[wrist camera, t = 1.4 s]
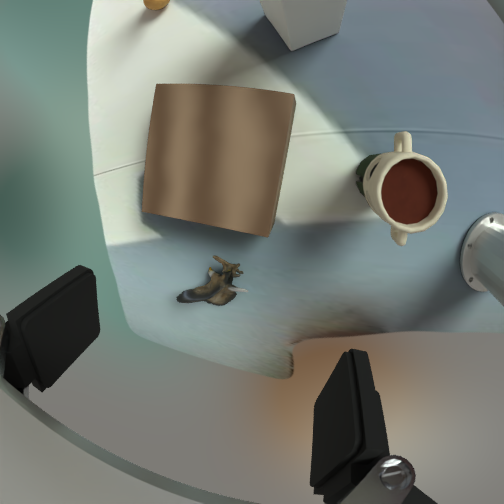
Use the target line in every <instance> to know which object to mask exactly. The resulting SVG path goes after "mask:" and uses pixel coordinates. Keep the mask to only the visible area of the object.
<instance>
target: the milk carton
mask: <svg viewBox="0 0 504 504" xmlns="http://www.w3.org/2000/svg"><path fill="white" fill-rule="evenodd" d="M346 2H347V0H260V3H261V6H262V8H263V11H264V13H265V15H266V17H267V18H268V20H269V21H270V22H271V24H272V25H273V26H274V28H275V29H276V31H277V32H278V33H279V35H280V36H281V38H282V39H283V40H284V42H285V43H286V45H287V46H288V48H289V49H290V50H291V51H294V50H296V49H298V48H301V47H303V46H305V45H308V44H310V43H313V42H315V41H318V40H321V39H323V38H326V37H329V36H331V35H334V34H337V33H339V30H340V26H341V22H342V18H343V14H344V10H345V6H346Z"/></svg>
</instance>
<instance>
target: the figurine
mask: <svg viewBox="0 0 504 504" xmlns="http://www.w3.org/2000/svg"><path fill="white" fill-rule="evenodd" d="M143 1H144V5H145V6H146V7H147V8H149V9H151V10H158V9H161V8H163V7H165V6H166V5H167V4H168V3H169V1H170V0H143Z"/></svg>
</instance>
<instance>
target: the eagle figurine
mask: <svg viewBox="0 0 504 504" xmlns="http://www.w3.org/2000/svg"><path fill="white" fill-rule="evenodd" d="M213 258H214V259H215V260H217V261H218V262H220V263H222V265H223V269H224V270H223V271H222V272H223V275H220V274H218V273H216V272H214V271H213V270H212V269H211V267H210V268H209V272H208V274H209V275H210V277H211V281H210V282H209V283H208V284H206V285H204V286H200V287H197V288H195V289H190V290H186V291H183V292H182V294H180V295H179V296H177V301H178V302H182V303H192V302H199V301H206V302H207V303H212V304H213V305H219V306H220V305H221V306H222V305H225V304H227V303H228V302H230V301H231V300H233V299H234V298H235V297H236V295H237V294H236V293H235V291H239V292H248V290H245V289H242V288H238V287H236V286H234V285H232V281H233V277H234V278H235V277H239V276H240V274H244V273H243V271H239V269H237V268H238V267H239V266H240V264H230V263H228V262H227V261H225V260H223V259H221V258H219V257H218V256H213ZM236 272H238V273H239V274H236Z"/></svg>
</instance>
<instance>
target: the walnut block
mask: <svg viewBox="0 0 504 504" xmlns="http://www.w3.org/2000/svg"><path fill="white" fill-rule="evenodd" d="M295 107H296V100H295V96H294V94H290V93H284V92H278V91H271V90H263V89H255V88H246V87H236V86H223V85H206V84H156V89H155V95H154V101H153V107H152V113H151V120H150V127H149V135H148V144H147V152H146V162H145V173H144V186H143V202H142V212H147V213H152V214H157V215H162V216H167V217H172V218H177V219H182V220H187V221H192V222H197V223H202V224H207V225H212V226H216V227H221V228H226V229H231V230H235V231H240V232H245V233H250V234H254V235H259V236H264V237H269V234H270V232H271V230H272V227H273V225H274V222H275V216H276V211H277V206H278V201H279V195H280V190H281V185H282V179H283V174H284V168H285V163H286V158H287V152H288V147H289V141H290V135H291V130H292V124H293V118H294V113H295Z"/></svg>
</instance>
